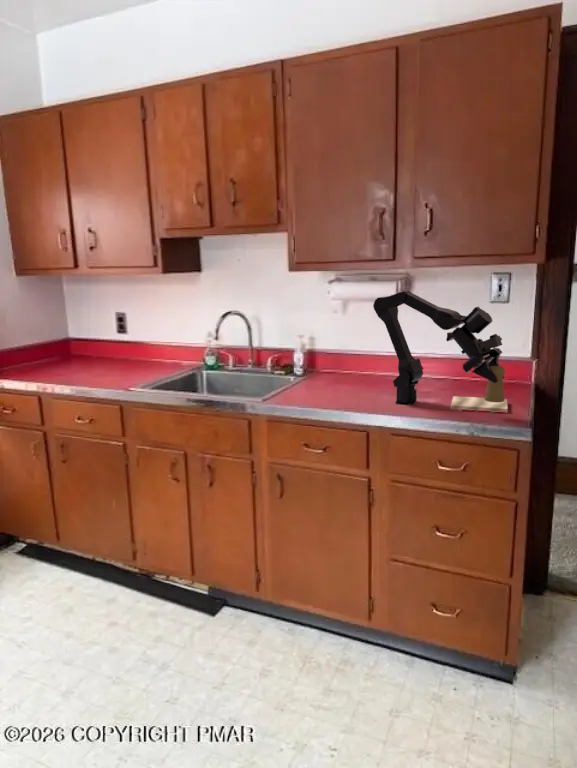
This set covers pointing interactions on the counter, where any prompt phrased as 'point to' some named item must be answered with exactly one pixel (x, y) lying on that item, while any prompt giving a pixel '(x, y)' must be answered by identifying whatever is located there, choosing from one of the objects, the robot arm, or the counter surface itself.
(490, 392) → the cork
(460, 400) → the birch board
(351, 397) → the counter surface
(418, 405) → the counter surface
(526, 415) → the counter surface
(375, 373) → the counter surface
